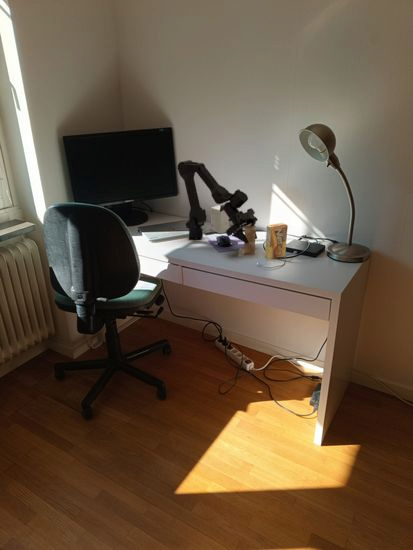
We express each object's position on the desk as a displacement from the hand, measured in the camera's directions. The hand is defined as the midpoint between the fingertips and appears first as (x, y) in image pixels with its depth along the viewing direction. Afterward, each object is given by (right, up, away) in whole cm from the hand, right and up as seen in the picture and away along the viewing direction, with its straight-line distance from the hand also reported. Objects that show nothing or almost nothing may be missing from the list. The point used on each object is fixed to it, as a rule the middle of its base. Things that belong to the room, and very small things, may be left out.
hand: (252, 240), depth 194 cm
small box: (-14, +8, +33) cm, 37 cm away
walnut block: (-1, -5, +4) cm, 7 cm away
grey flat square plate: (-1, -6, +4) cm, 7 cm away
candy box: (+11, -8, 0) cm, 13 cm away
